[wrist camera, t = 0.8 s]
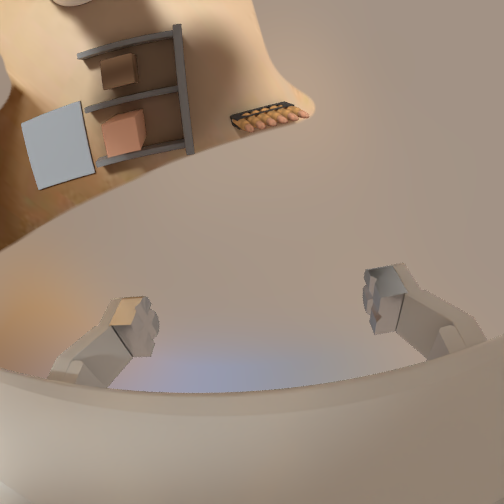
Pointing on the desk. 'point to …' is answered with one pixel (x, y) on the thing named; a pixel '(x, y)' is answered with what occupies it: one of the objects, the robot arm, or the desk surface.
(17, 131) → the desk surface
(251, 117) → the ammunition clip
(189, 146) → the lane rack
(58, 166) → the slate mat
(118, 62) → the walnut block
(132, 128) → the terracotta block
